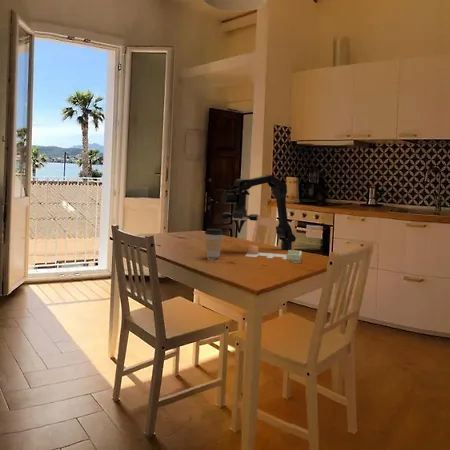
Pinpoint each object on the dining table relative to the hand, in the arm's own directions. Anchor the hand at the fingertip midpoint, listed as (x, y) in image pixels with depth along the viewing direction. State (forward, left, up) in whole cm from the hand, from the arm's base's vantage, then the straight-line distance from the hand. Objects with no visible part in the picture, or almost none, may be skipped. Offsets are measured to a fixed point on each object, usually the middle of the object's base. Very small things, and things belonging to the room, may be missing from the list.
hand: (239, 232), depth 245 cm
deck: (+3, +19, -12) cm, 23 cm away
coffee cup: (+16, -10, -12) cm, 22 cm away
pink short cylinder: (0, +8, -10) cm, 13 cm away
